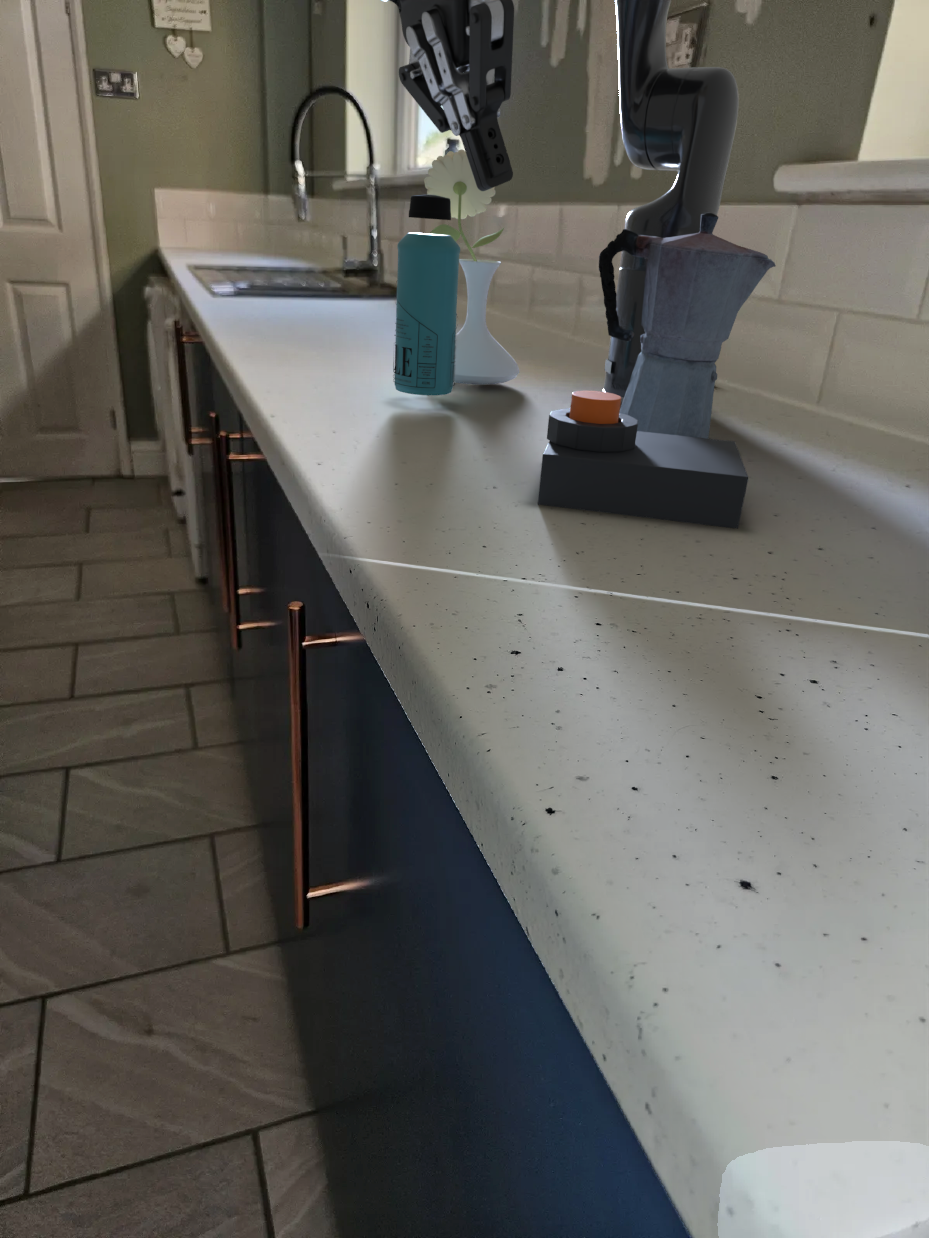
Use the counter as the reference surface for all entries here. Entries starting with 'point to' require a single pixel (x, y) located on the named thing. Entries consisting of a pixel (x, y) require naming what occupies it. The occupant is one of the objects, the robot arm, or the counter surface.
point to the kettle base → (641, 472)
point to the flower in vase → (471, 274)
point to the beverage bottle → (426, 304)
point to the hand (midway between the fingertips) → (496, 185)
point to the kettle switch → (595, 407)
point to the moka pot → (681, 322)
